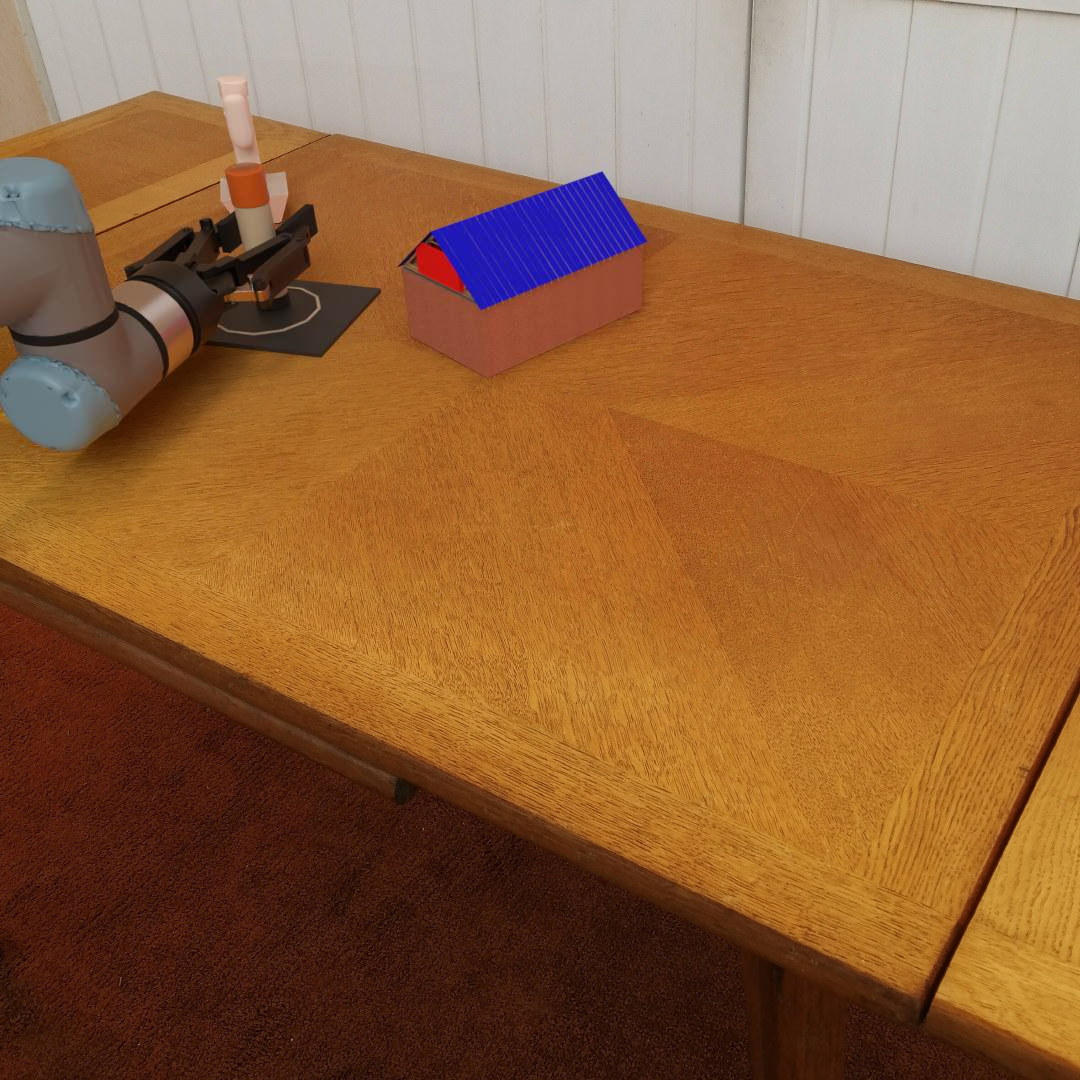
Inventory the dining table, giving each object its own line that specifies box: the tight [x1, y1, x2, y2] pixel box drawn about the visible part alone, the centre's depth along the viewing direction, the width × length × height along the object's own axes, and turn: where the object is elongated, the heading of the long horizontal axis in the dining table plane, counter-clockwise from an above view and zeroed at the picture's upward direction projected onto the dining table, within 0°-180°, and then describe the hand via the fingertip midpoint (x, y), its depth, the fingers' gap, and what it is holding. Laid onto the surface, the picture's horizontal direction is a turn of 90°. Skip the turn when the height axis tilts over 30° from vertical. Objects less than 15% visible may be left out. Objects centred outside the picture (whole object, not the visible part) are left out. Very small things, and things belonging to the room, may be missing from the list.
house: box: [396, 170, 649, 379], centre depth 102 cm, size 12×20×12 cm, turn 134°
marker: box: [224, 162, 290, 311], centre depth 105 cm, size 3×3×13 cm
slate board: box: [204, 279, 382, 358], centre depth 108 cm, size 18×14×1 cm
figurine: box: [216, 75, 289, 223], centre depth 122 cm, size 7×9×15 cm
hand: (283, 215), depth 108 cm, fingers open, 5 cm apart
